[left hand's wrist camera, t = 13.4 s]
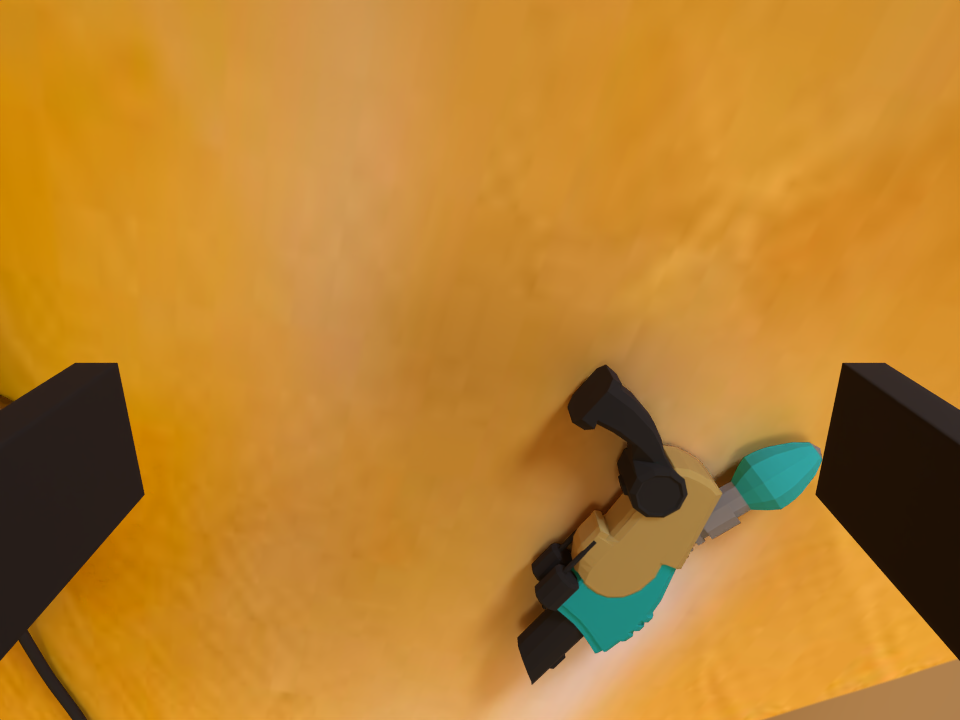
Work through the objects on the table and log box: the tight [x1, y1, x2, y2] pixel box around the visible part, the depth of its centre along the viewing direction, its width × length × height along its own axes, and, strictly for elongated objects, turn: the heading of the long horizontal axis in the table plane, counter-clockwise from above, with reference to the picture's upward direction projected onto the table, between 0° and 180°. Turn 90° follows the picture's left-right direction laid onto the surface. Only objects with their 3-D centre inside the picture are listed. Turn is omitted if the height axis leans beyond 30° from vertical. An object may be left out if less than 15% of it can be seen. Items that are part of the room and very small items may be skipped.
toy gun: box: [518, 365, 822, 684], centre depth 44 cm, size 4×26×15 cm
